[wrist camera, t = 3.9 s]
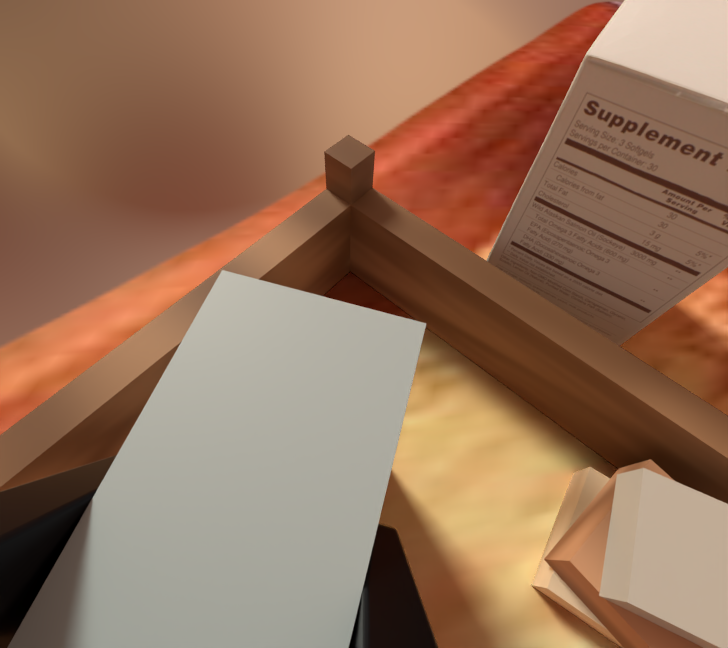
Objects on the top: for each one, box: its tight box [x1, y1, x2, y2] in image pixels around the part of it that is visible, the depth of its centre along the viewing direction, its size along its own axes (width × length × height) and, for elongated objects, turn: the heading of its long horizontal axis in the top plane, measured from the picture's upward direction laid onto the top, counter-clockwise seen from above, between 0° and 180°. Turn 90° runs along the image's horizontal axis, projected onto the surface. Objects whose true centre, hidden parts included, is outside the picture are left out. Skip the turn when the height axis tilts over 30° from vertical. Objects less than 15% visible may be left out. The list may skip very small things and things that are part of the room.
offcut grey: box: [599, 468, 728, 648], centre depth 13 cm, size 4×4×2 cm
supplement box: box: [487, 0, 728, 346], centre depth 17 cm, size 7×7×13 cm
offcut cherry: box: [544, 459, 703, 648], centre depth 14 cm, size 5×4×2 cm
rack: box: [0, 135, 728, 504], centre depth 13 cm, size 18×26×7 cm
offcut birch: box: [531, 467, 624, 648], centre depth 16 cm, size 5×5×2 cm
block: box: [8, 270, 426, 648], centre depth 11 cm, size 6×4×12 cm, turn 164°
